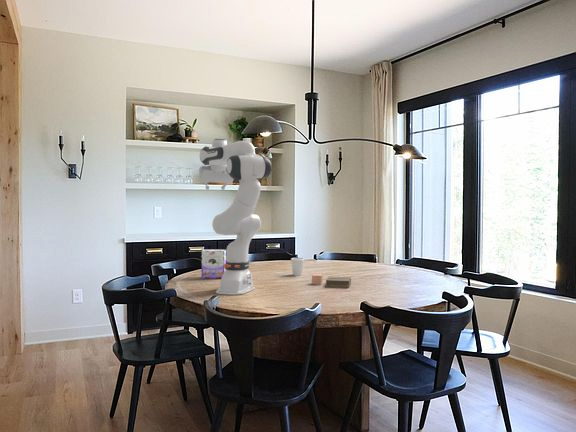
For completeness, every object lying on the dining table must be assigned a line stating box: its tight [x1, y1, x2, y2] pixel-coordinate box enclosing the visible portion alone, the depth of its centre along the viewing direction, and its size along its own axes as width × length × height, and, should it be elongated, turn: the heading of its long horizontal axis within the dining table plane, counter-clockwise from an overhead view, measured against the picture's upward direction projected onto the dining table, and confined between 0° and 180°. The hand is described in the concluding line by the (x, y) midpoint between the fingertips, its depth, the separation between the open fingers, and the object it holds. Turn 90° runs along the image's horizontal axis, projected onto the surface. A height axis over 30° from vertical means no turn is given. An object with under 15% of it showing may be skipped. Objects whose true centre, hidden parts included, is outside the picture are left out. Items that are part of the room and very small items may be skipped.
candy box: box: [200, 249, 227, 279], centre depth 274 cm, size 14×6×16 cm, turn 84°
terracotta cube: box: [311, 273, 323, 286], centre depth 256 cm, size 5×5×5 cm
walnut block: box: [325, 275, 352, 289], centre depth 252 cm, size 12×12×4 cm
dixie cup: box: [290, 257, 305, 277], centre depth 284 cm, size 8×8×10 cm
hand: (215, 189), depth 274 cm, fingers open, 8 cm apart
